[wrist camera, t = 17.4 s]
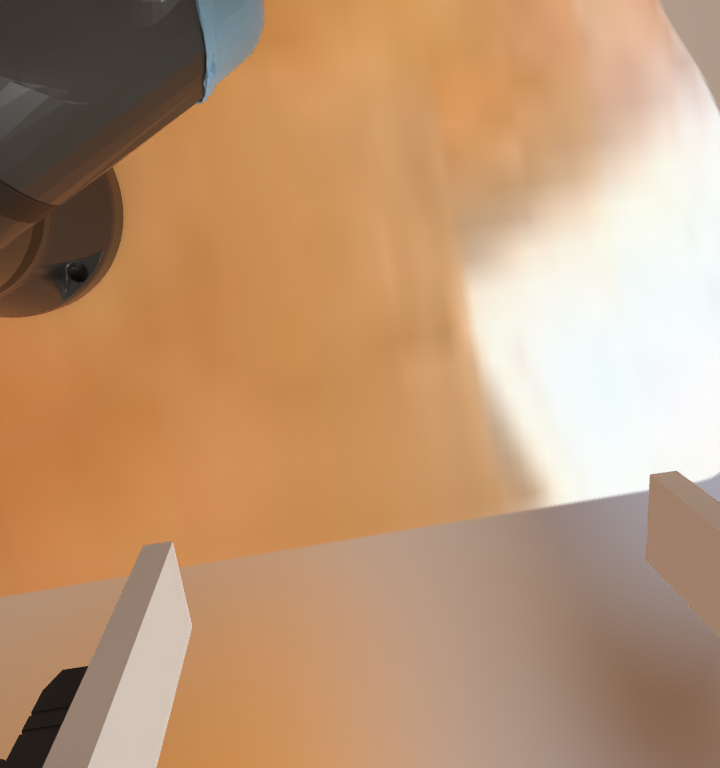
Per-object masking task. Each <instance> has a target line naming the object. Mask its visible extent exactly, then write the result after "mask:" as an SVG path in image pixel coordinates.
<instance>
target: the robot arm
mask: <svg viewBox="0 0 720 768" xmlns="http://www.w3.org/2000/svg"><path fill="white" fill-rule="evenodd" d="M263 26H264V0H0V317H9V318H14V317H29V316H34V315H39V314H43V313H47V312H50V311H53V310H56V309H59V308H62V307H64V306H67V305H69V304H71V303H73V302H75V301H77V300H78V299H80V298H81V297H83V296H84V295H86V294H87V293H88V292H90V291H91V290H92V289H93V288H94V287H95V286H96V285H97V284H98V283H99V282H100V281H101V279H102V278H103V277H104V276H105V274H106V273H107V271H108V270H109V268H110V266H111V264H112V263H113V260H114V258H115V256H116V253H117V251H118V248H119V244H120V241H121V235H122V228H123V205H122V197H121V192H120V188H119V184H118V181H117V178H116V175H115V172H114V170H113V166H114V165H115V164H117V163H118V162H119V161H121V160H122V159H123V158H125V157H126V156H127V155H129V154H130V153H131V152H133V151H134V150H135V149H137V148H138V147H139V146H140V145H142V144H143V143H144V142H146V141H147V140H148V139H150V138H151V137H152V136H154V135H155V134H156V133H158V132H159V131H160V130H162V129H163V128H164V127H165V126H167V125H168V124H169V123H171V122H172V121H173V120H175V119H176V118H177V117H179V116H180V115H181V114H183V113H184V112H185V111H187V110H188V109H189V108H190V107H192V106H193V105H194V104H200V103H203V102H204V101H206V100H207V97H208V96H210V95H211V94H212V92H213V89H214V87H215V86H216V85H217V84H218V83H219V82H220V81H221V80H223V79H224V78H225V77H226V76H227V75H228V74H230V73H231V72H232V71H233V70H234V69H235V68H236V67H238V66H239V65H240V64H241V63H242V62H243V61H245V60H246V59H247V58H248V57H249V56H250V55H251V54H252V53H253V50H254V49H255V47H256V45H257V44H258V42H259V38H260V36H261V34H262V31H263ZM646 561H647V562H648V563H649V564H650V565H651V566H652V567H653V568H654V569H655V570H656V571H657V572H658V573H659V574H660V575H661V577H662V578H663V579H664V580H665V581H666V582H667V583H668V584H669V585H670V586H671V587H672V588H673V589H674V590H675V591H676V592H677V593H678V595H680V597H681V598H682V599H683V600H684V601H685V602H686V603H687V604H688V605H689V606H690V607H691V608H692V609H693V610H694V611H695V612H696V613H697V615H698V616H699V617H700V618H701V619H702V620H703V621H704V622H705V623H706V624H707V625H708V626H709V627H710V628H711V629H712V630H713V631H714V633H715V634H716V635H717V636H718V637H719V638H720V502H718V501H716V499H714V498H713V497H711V496H710V495H709V494H707V493H706V492H705V491H703V490H702V489H700V488H699V487H698V486H696V485H695V484H694V483H692V482H691V481H690V480H688V479H687V478H685V477H684V476H683V475H681V474H680V473H679V472H677V471H673V472H666V473H658V474H651V475H650V485H649V505H648V525H647V545H646ZM191 630H192V624H191V620H190V615H189V610H188V606H187V602H186V597H185V593H184V589H183V584H182V580H181V576H180V571H179V567H178V563H177V558H176V554H175V550H174V545H173V541H172V542H164V543H157V544H150V545H143V547H142V550H141V552H140V554H139V556H138V558H137V561H136V563H135V565H134V567H133V569H132V572H131V574H130V576H129V578H128V581H127V583H126V585H125V587H124V589H123V591H122V594H121V596H120V598H119V601H118V603H117V605H116V607H115V609H114V611H113V614H112V616H111V618H110V620H109V622H108V624H107V627H106V629H105V631H104V633H103V635H102V638H101V640H100V642H99V644H98V646H97V649H96V651H95V653H94V655H93V657H92V660H91V662H90V664H89V666H86V667H80V668H72V669H67V670H62V671H61V672H60V673H59V674H58V675H57V676H56V677H55V678H54V680H52V682H51V683H50V684H49V685H48V686H47V687H46V688H45V689H44V690H43V691H42V693H41V695H40V697H39V699H38V701H37V703H36V705H35V707H34V708H33V710H32V715H31V716H29V718H28V720H27V722H26V724H25V725H24V727H23V730H22V735H19V737H18V739H17V741H16V743H15V744H14V746H13V748H12V751H11V752H10V754H9V756H8V758H7V760H6V761H5V760H3V759H0V768H156V767H157V763H158V759H159V755H160V752H161V748H162V744H163V740H164V736H165V732H166V728H167V724H168V720H169V716H170V712H171V708H172V704H173V701H174V696H175V692H176V689H177V685H178V680H179V677H180V673H181V669H182V665H183V661H184V657H185V653H186V649H187V646H188V642H189V638H190V634H191Z"/></svg>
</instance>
